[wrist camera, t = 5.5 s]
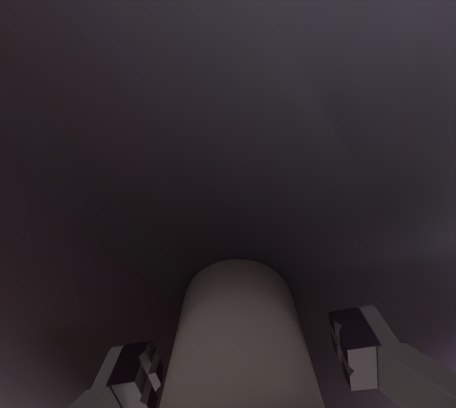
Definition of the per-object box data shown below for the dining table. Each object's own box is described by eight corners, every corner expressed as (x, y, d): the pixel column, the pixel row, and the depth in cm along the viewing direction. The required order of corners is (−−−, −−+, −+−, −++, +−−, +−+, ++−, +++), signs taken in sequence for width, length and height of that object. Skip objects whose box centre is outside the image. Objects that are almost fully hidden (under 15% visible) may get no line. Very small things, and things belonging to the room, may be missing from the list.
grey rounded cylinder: (200, 350, 13) (181, 496, 8) (170, 270, 11) (128, 395, 7) (298, 335, 12) (338, 479, 8) (283, 249, 11) (322, 367, 6)
